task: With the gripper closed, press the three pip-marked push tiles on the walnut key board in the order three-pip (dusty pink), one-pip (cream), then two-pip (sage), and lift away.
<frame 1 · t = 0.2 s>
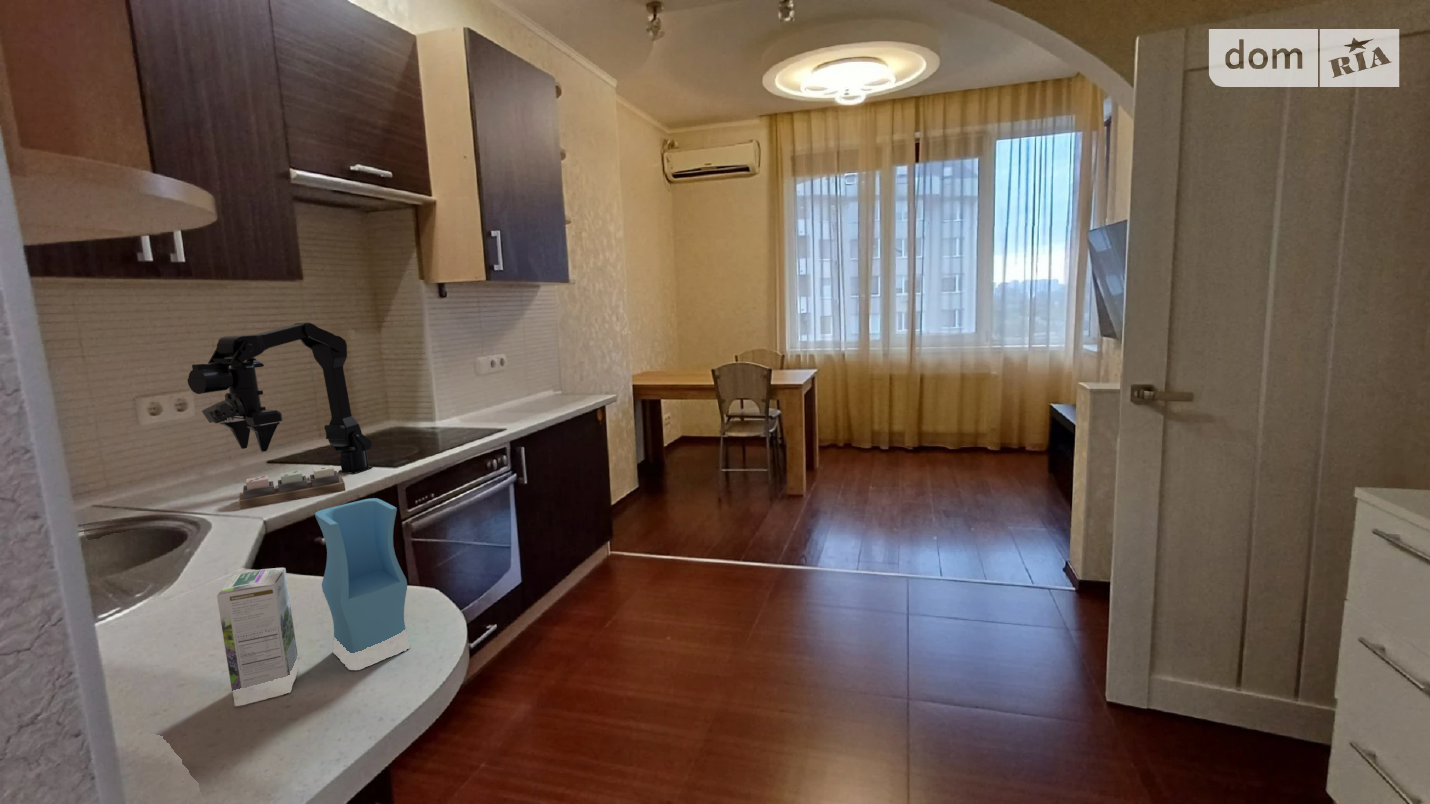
hand: (254, 449, 152), 13 cm above the countertop, fingers open, 9 cm apart
tile one: (323, 472, 161), point 5 cm above the countertop, slide at 0.0 cm
digit board: (294, 495, 158), on the countertop
tile two: (291, 477, 157), point 5 cm above the countertop, slide at 0.0 cm
blue tall chair-shaped block: (373, 651, 84), on the countertop
tile three: (257, 482, 153), point 5 cm above the countertop, slide at 0.0 cm
syrup box: (270, 689, 76), on the countertop
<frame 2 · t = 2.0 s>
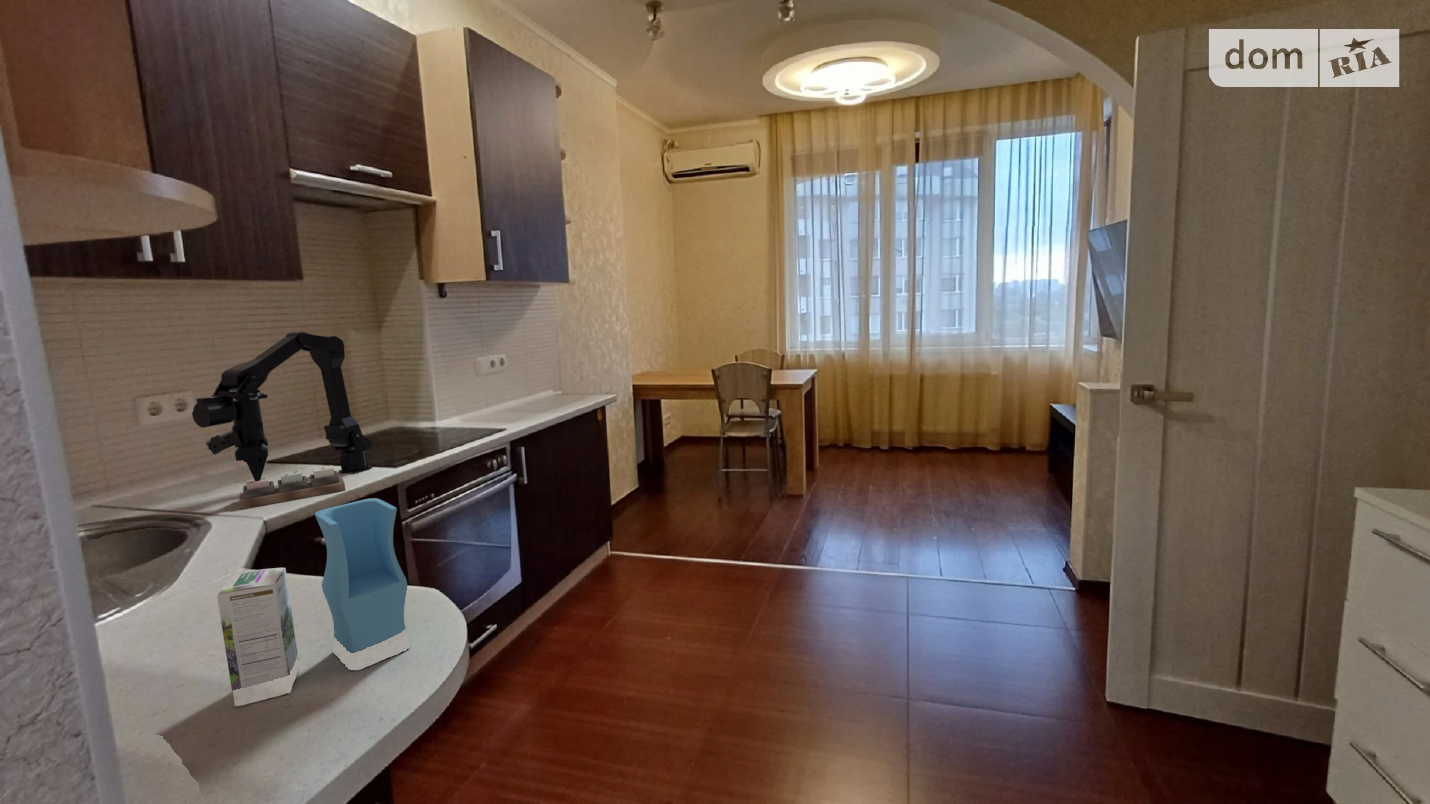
hand: (257, 480, 153), 5 cm above the countertop, fingers closed, pressing on tile three
tile three: (258, 484, 153), point 4 cm above the countertop, slide at 0.5 cm, touching gripper
everything else where it was.
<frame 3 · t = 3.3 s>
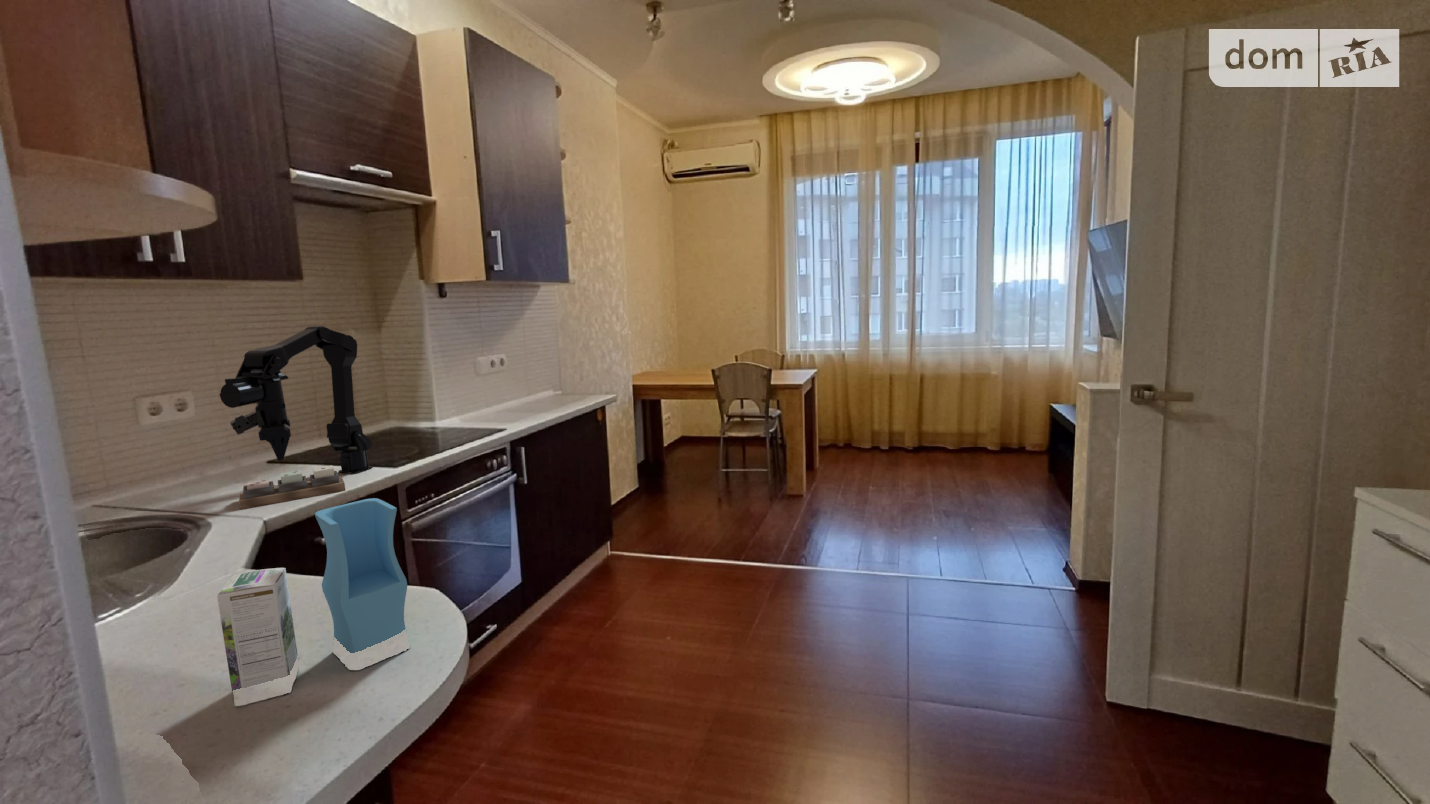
hand: (280, 460, 156), 10 cm above the countertop, fingers closed
tile three: (258, 486, 153), point 4 cm above the countertop, slide at 1.0 cm
everything else where it was.
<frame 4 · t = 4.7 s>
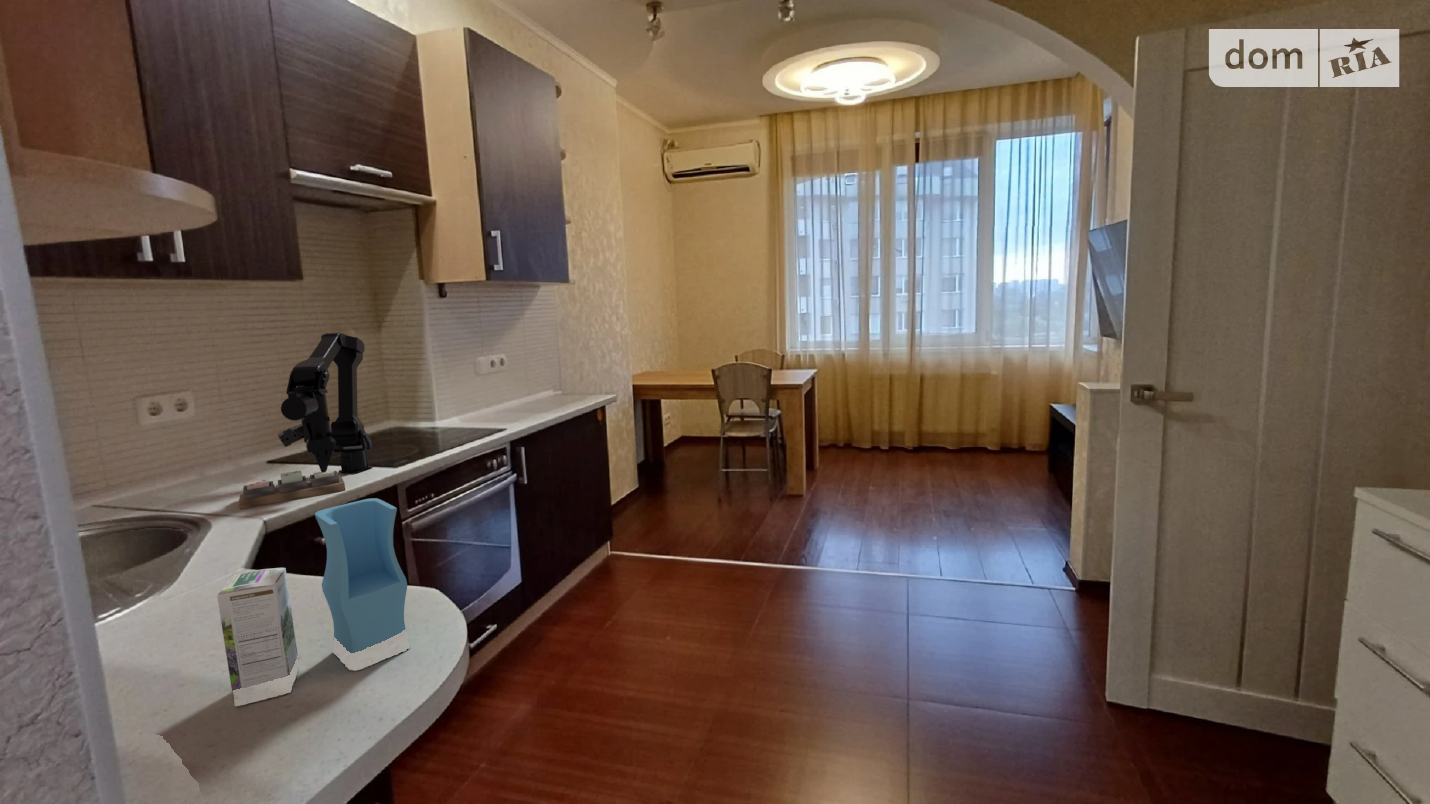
hand: (323, 471, 161), 5 cm above the countertop, fingers closed, pressing on tile one
tile one: (324, 475, 161), point 4 cm above the countertop, slide at 1.0 cm, touching gripper
everything else where it was.
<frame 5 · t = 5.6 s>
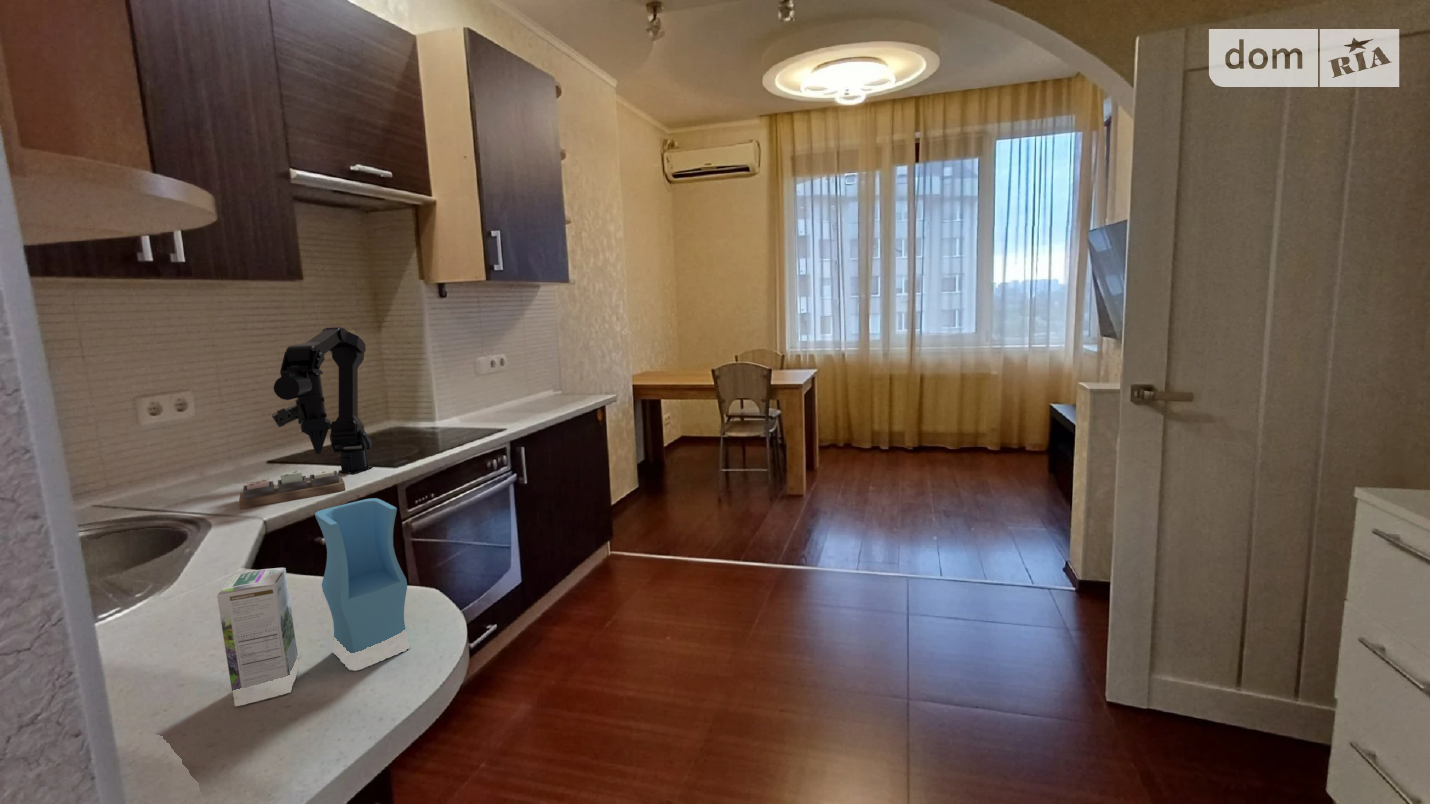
hand: (318, 453, 160), 10 cm above the countertop, fingers closed
tile one: (324, 475, 161), point 4 cm above the countertop, slide at 1.0 cm
everything else where it was.
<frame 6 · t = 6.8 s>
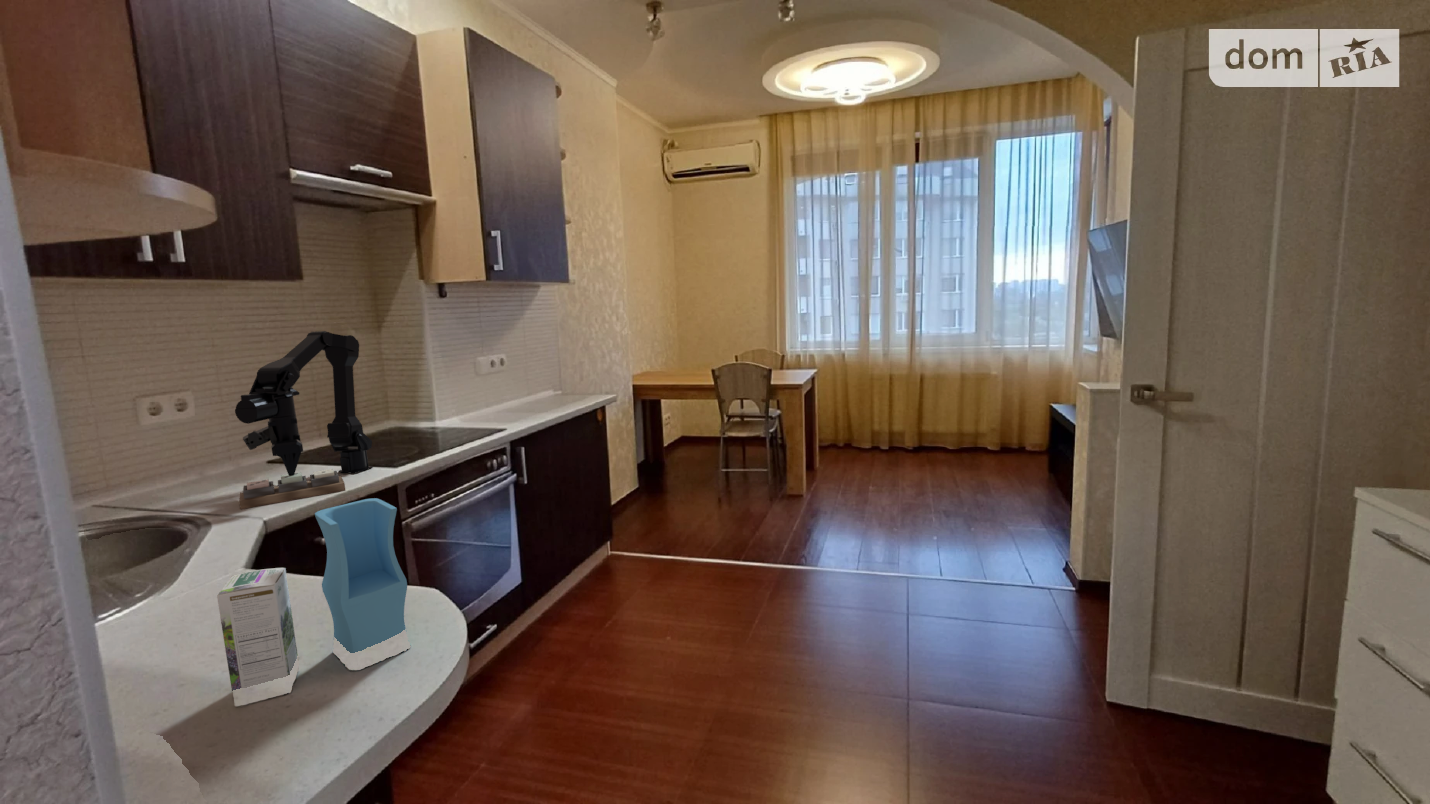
hand: (291, 475, 157), 5 cm above the countertop, fingers closed, pressing on tile two
tile two: (291, 479, 157), point 4 cm above the countertop, slide at 0.5 cm, touching gripper
everything else where it was.
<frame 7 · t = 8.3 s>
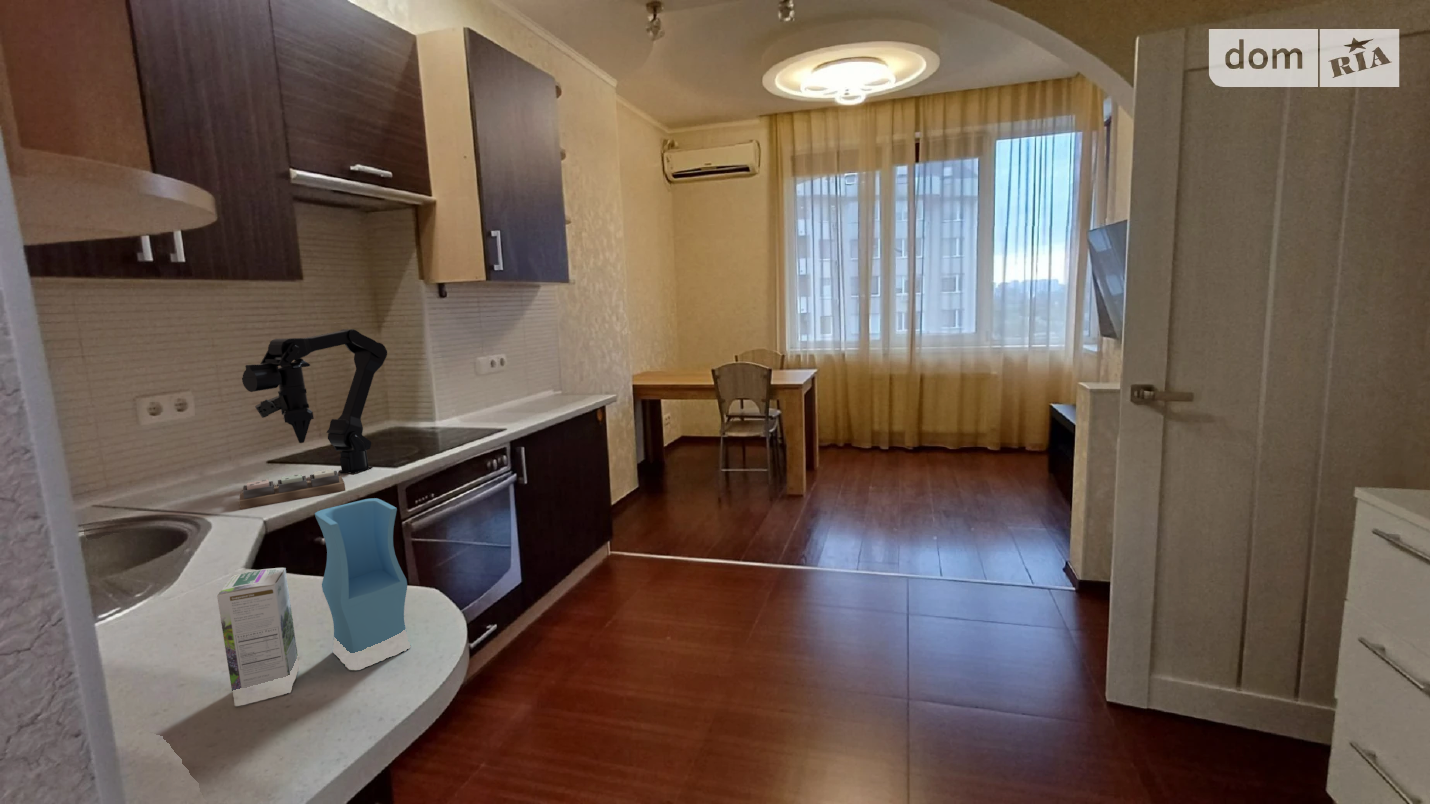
hand: (301, 442, 166), 12 cm above the countertop, fingers closed
tile two: (292, 480, 157), point 4 cm above the countertop, slide at 1.0 cm
everything else where it was.
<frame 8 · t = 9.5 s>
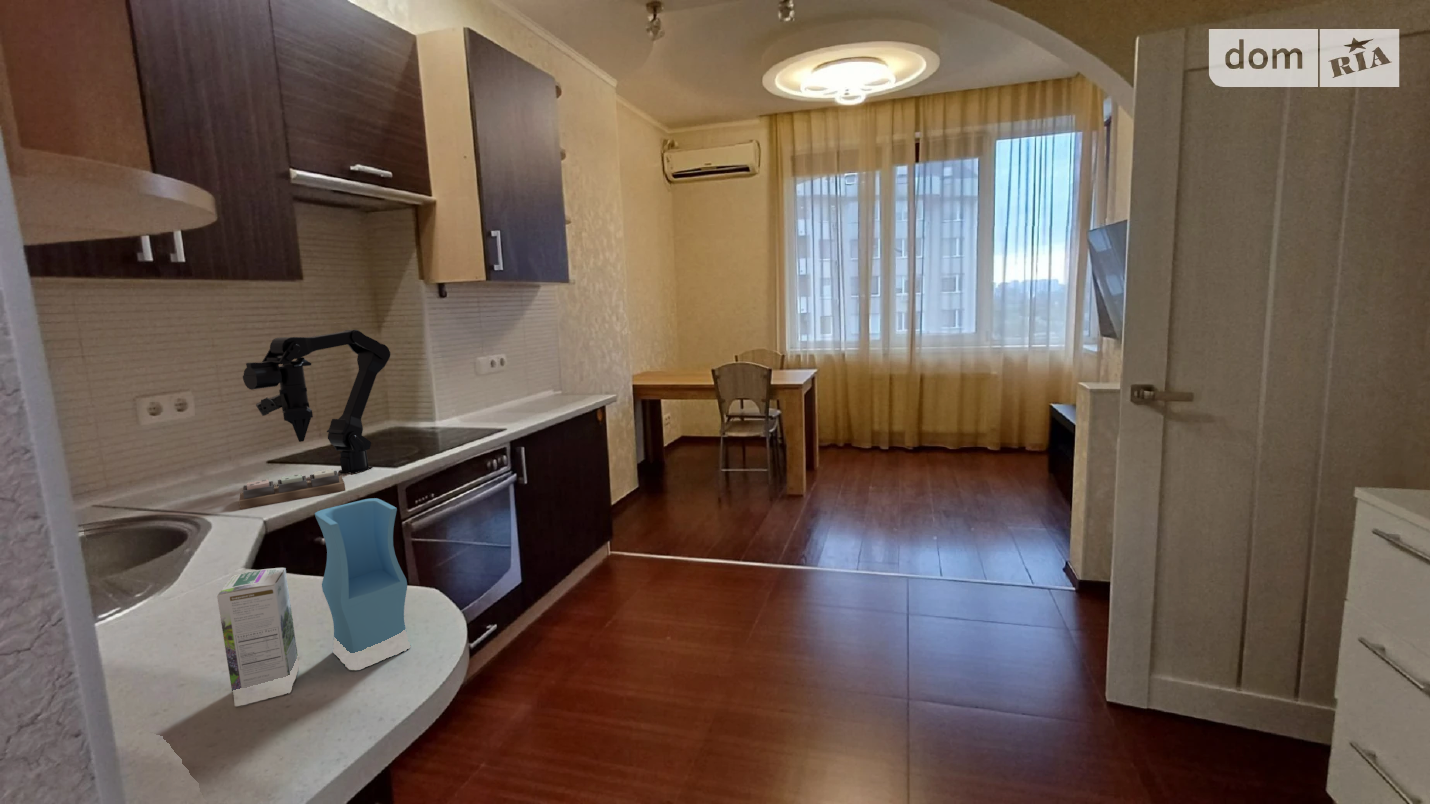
hand: (301, 441, 166), 12 cm above the countertop, fingers closed
nothing on the countertop moved.
at the end: tile three slide at 1.0 cm; tile one slide at 1.0 cm; tile two slide at 1.0 cm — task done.
